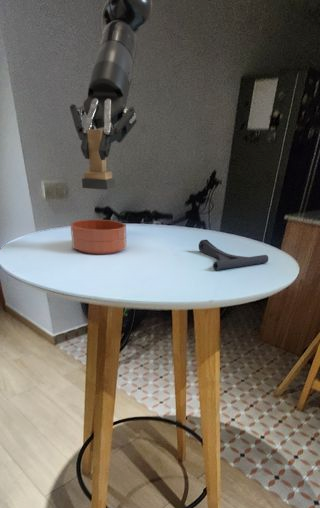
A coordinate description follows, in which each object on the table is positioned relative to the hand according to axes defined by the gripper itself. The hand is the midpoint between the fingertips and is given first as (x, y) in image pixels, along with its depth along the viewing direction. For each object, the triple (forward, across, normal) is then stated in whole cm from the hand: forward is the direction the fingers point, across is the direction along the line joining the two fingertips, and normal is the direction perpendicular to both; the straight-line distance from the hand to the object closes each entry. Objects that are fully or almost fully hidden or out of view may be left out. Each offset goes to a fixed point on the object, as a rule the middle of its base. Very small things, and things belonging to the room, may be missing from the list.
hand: (93, 155), depth 70 cm
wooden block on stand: (+2, 0, +5) cm, 6 cm away
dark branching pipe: (+9, +27, +17) cm, 33 cm away
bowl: (+10, -1, +16) cm, 18 cm away
